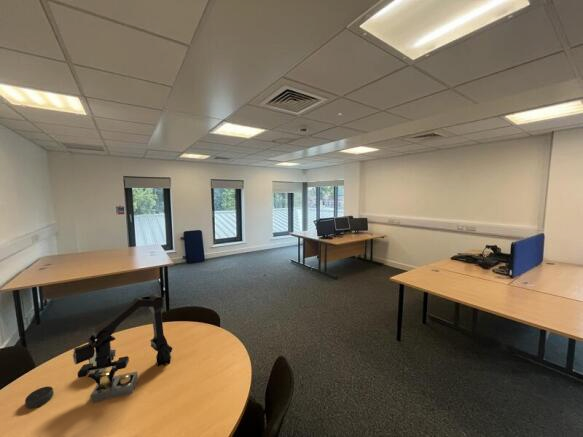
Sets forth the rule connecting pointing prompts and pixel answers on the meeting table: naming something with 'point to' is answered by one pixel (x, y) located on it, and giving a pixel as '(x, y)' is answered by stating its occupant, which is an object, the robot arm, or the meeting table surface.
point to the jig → (114, 389)
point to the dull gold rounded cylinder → (125, 379)
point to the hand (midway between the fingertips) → (105, 382)
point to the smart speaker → (39, 397)
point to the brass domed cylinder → (105, 380)
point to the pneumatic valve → (92, 360)
